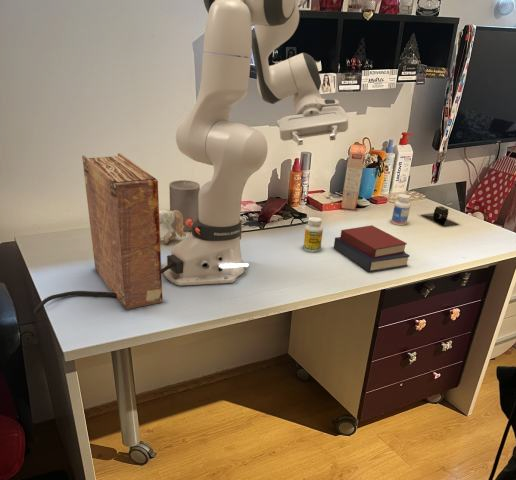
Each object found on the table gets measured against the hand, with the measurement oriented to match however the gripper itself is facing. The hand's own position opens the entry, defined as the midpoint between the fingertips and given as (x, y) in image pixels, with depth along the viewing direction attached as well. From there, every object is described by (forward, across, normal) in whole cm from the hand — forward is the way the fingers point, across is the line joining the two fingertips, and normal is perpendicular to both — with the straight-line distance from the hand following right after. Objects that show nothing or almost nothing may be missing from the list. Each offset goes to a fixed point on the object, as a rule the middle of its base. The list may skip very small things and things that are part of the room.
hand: (316, 140), depth 153 cm
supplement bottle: (+16, -5, +27) cm, 32 cm away
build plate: (-11, +45, +48) cm, 67 cm away
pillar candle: (0, -44, +25) cm, 51 cm away
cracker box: (-26, +15, +48) cm, 56 cm away
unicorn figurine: (+15, -52, +17) cm, 57 cm away
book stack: (+22, +12, +28) cm, 37 cm away
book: (+41, -55, +6) cm, 69 cm away
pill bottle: (-7, +29, +43) cm, 53 cm away
